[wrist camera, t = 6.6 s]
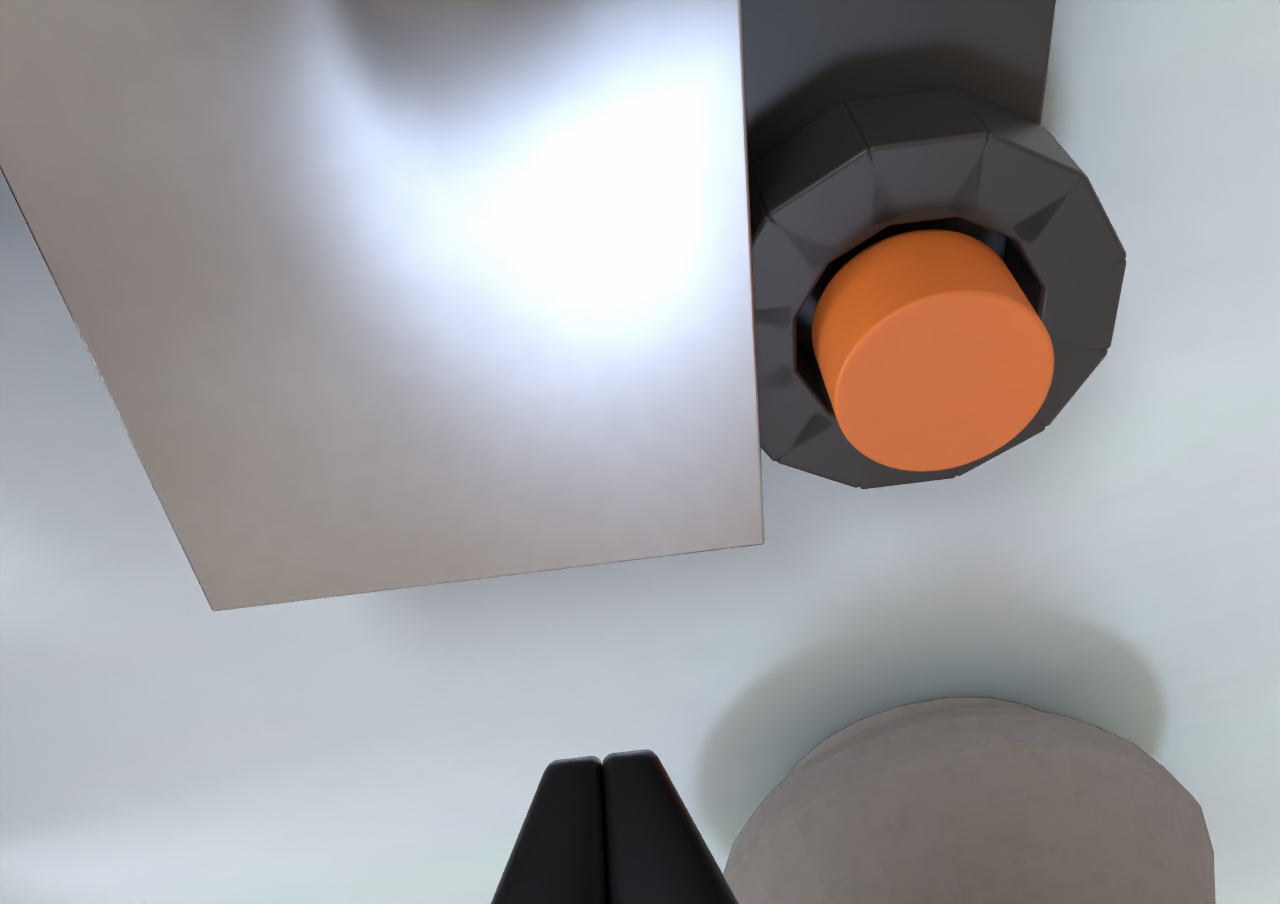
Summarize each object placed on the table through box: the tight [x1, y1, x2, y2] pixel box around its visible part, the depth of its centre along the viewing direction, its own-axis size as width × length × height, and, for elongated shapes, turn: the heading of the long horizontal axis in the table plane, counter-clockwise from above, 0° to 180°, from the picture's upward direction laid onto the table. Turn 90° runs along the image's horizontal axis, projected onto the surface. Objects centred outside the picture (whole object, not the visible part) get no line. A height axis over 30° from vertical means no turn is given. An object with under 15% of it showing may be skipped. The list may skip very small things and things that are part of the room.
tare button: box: [812, 229, 1054, 472], centre depth 16 cm, size 3×3×2 cm
